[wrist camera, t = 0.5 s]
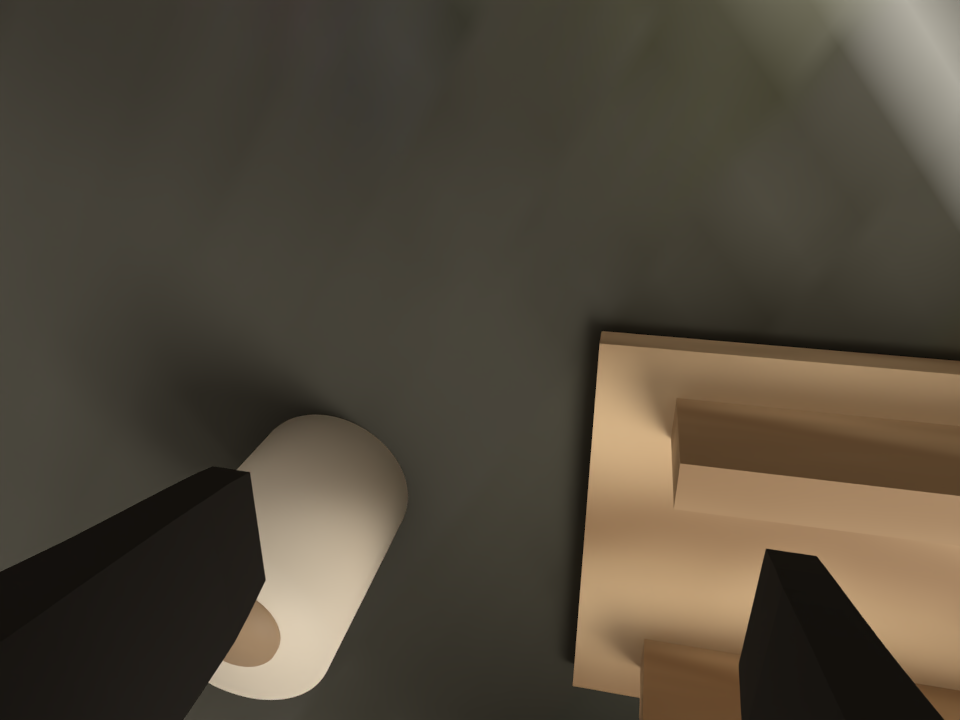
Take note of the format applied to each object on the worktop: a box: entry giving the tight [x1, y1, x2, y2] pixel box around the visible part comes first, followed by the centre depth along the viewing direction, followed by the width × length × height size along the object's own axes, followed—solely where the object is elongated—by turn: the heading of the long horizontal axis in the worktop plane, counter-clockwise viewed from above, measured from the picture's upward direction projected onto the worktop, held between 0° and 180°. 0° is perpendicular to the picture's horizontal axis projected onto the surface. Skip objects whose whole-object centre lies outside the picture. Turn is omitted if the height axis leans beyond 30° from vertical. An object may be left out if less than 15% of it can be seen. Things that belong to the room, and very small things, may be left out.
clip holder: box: [573, 331, 960, 720], centre depth 18 cm, size 12×16×4 cm
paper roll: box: [208, 414, 408, 700], centre depth 20 cm, size 5×5×6 cm
